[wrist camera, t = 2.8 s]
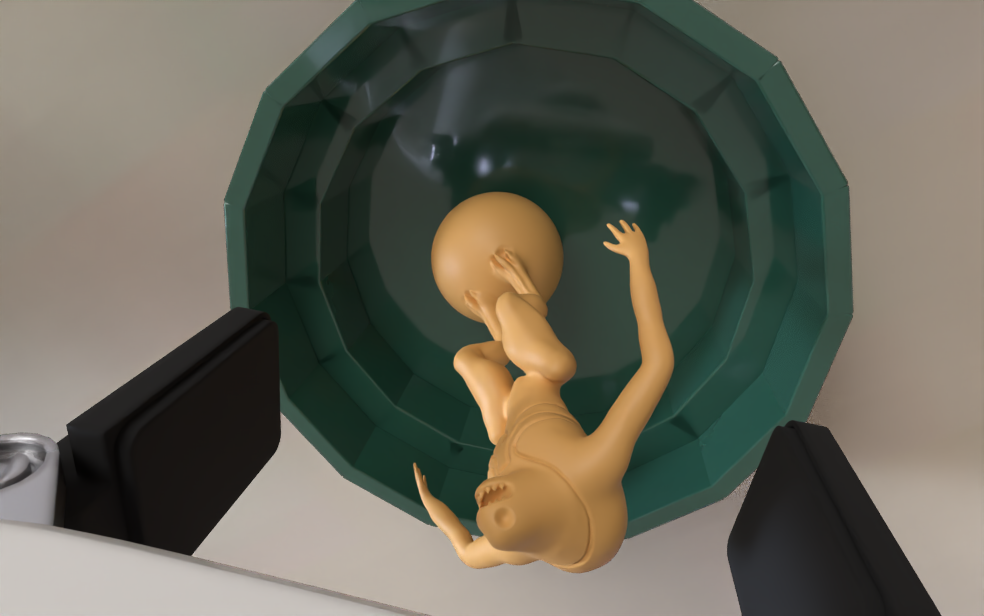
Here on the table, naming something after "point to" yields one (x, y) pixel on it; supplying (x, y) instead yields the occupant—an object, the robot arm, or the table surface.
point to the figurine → (540, 391)
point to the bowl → (576, 215)
